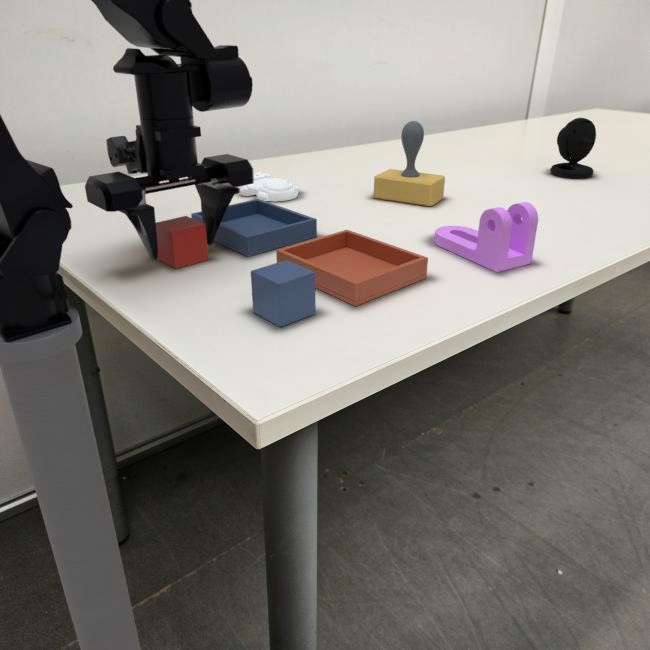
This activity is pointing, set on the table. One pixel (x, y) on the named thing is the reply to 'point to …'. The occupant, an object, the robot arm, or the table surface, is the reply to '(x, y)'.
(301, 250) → the terracotta tray
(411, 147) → the rubber stamp
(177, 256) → the red block
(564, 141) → the webcam
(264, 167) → the table surface
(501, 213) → the bracket
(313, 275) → the blue block
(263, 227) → the slate tray
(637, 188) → the table surface
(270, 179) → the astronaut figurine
